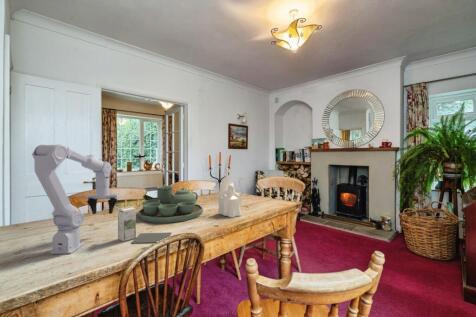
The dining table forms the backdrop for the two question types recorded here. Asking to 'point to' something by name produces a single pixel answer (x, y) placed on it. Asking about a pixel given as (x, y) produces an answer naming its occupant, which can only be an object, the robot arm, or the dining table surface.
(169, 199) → the tea set
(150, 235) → the mat
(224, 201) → the religious statue
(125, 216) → the syrup box
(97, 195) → the robot arm
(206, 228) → the dining table surface
